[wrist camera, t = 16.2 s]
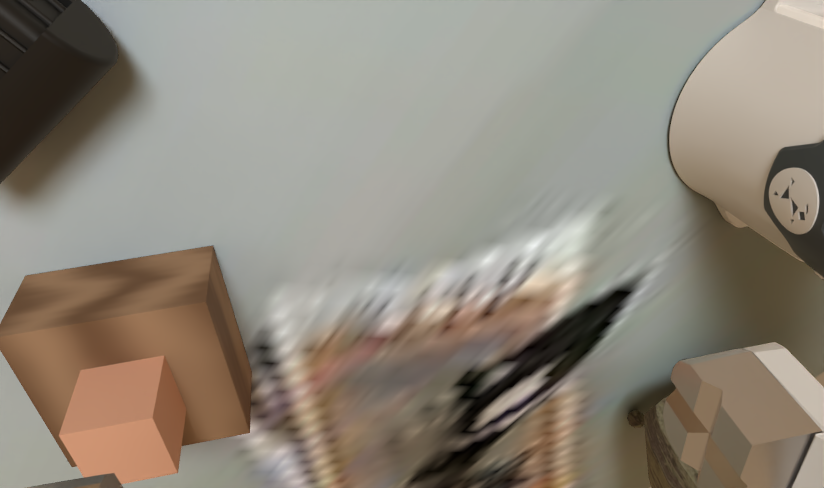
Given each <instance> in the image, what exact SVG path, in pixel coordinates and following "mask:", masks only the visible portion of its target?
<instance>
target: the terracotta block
mask: <svg viewBox="0 0 824 488" xmlns="http://www.w3.org/2000/svg"><path fill="white" fill-rule="evenodd" d="M185 417H186V407H185V404H184V402H183V400H182V397H181V395H180V392H179V390H178V387H177V385H176V383H175V380H174V378H173V375H172V373H171V370H170V368H169V365H168V363H167V361H166V358H165V356H158V357H152V358H147V359H141V360H135V361H130V362H124V363H118V364H113V365H107V366H102V367H96V368H90V369H85V370H81V371H80V374H79V377H78V380H77V383H76V386H75V389H74V392H73V394H72V397H71V400H70V403H69V406H68V409H67V412H66V415H65V418H64V421H63V424H62V427H61V430H60V433H59V437H60V438H61V440H62V442H63V443H64V445H65V447H66V448H67V450H68V452H69V453H70V455H71V457H72V458H73V460H74V462H75V463H76V465H77V467H78V468H79V470H80V472H81V473H82V475H83V477H84V478H85V477H91V476H97V475H103V474H110V473H115V475H116V477H117V478H118V480H119V481H120V483H121V484H124V483H129V482H134V481H140V480H145V479H150V478H155V477H160V476H165V475H170V474H175V473H178V468H179V460H180V453H181V446H182V438H183V431H184V424H185Z"/></svg>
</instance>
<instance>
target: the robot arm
mask: <svg viewBox="0 0 824 488" xmlns="http://www.w3.org/2000/svg"><path fill="white" fill-rule="evenodd" d="M669 146H670V154H671V159H672V162H673V165H674V167H675V170H676V172H677V173H678V175H679V177H680V178H681V179H682V180H683V182H684V183H685V184H686V185H687V186H689V187H690V188H691V189H692V190H694V191H696V192H697V193H699V194H701V195H703V196H705V197H707V198H708V199H710V200H712V201H713V202H714V203H715V204H716V206H717V208H718V210H719V212H720V214H721V215H722V217H723V218H724V219H725V220H726V221H727V222H729V223H730V224H732V225H733V226H735V227H737V228H744V227H750V228H751V229H753V230H754V231H756V232H757V233H759V234H760V235H762V236H763V237H765V238H766V239H767V240H769V241H770V242H772V243H773V244H775V245H776V246H778V247H779V248H781V249H782V250H784V251H785V252H787V253H788V254H790V255H791V256H793V257H795V258H796V259H798V260H800V261H802V262H805V263H806V264H808V265H809V266H810V267H811V268H812V269H813V270H815V272H814V273H815V274H817V275H818V276H819V277H820V278H822V279H823V280H824V0H766V1H765V2H764V3H763V5H762V6H761V8H759V9H758V10H757V11H756V12H755V13H754V14H753V15H752V16H750V17H749V18H748V19H747V20H745V21H744V22H743V23H741V24H740V25H739V26H737V27H736V28H735V29H733V30H732V31H731V32H729V33H728V34H727V35H726V36H725V37H723V38H722V39H721V40H720V41H719V42H718V43H717V44H716V45H715V46H714V47H713V48H712V49H711V50H710V51H709V52H708V53H707V55H706V56H705V57H704V58H703V59H702V60H701V62H700V63H699V64H698V66H697V67H696V68H695V70H694V71H693V73H692V74H691V76H690V77H689V79H688V81H687V82H686V84H685V86H684V88H683V90H682V92H681V94H680V96H679V99H678V101H677V104H676V107H675V109H674V113H673V116H672V121H671V126H670V136H669ZM670 379H671V381H672V382H673V384H674V385H675V386H676V389H675V390H674V391H673V392H672V393H671V394H670V395H669V396H668V397H667V398H666V400H665V406H664V411H663V418H664V424H665V430H666V433H667V436H668V438H669V441H670V443H671V446H672V447H673V449H674V451H675V452H676V454H677V455H678V457H679V459H680V460H681V461H683V462H684V463H686V464H688V465H689V466H691V467H693V468H694V469H696V470H698V478H697V487H698V488H824V387H823V386H822V385H821V384H820V383H819V382H818V381H817V380H816V379H815V378H814V377H813V376H812V375H811V374H810V373H809V372H808V371H807V370H806V369H805V367H804V366H803V365H802V364H801V363H800V362H799V361H798V360H797V359H796V358H795V357H794V356H793V355H792V354H791V353H790V352H789V351H788V350H787V349H786V348H785V347H784V346H782V345H780V344H778V343H776V342H772V343H767V344H762V345H756V346H751V347H746V348H742V349H733V350H728V351H723V352H719V353H714V354H709V355H704V356H699V357H695V358H690V359H685V360H680V361H678V363H677V364H676V365H675V366H674V367H673V370H672V374H671V378H670ZM27 488H123V486H122V485H121V483H120V481H119V480H118V478H117V477H116V475H115V473H110V474H103V475H97V476H91V477H85V478H79V479H73V480H67V481H61V482H56V483H50V484H44V485H38V486H32V487H27Z"/></svg>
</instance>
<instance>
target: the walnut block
mask: <svg viewBox="0 0 824 488" xmlns="http://www.w3.org/2000/svg"><path fill="white" fill-rule="evenodd" d="M0 350H1V352H2V354H3V355H4V357H5V358H6V360H7V362H8V363H9V365H10V367H11V368H12V370H13V372H14V373H15V375H16V376H17V378H18V380H19V381H20V383H21V385H22V386H23V388H24V390H25V391H26V393H27V394H28V396H29V398H30V399H31V401H32V403H33V404H34V406H35V408H36V409H37V411H38V412H39V414H40V416H41V417H42V419H43V421H44V422H45V424H46V426H47V427H48V429H49V430H50V432H51V434H52V435H53V437H54V439H55V440H56V442H57V444H58V445H59V447H60V448H61V450H62V452H63V453H64V455H65V457H66V458H67V460H68V462H69V463H70V465H71V466H72V467H75V466H77V465H76V463H75V462H74V460H73V458H72V457H71V455H70V453H69V452H68V450H67V448H66V447H65V445H64V443H63V442H62V440H61V438H60V437H59V433H60V430H61V427H62V424H63V421H64V418H65V415H66V412H67V409H68V406H69V403H70V400H71V397H72V394H73V392H74V389H75V386H76V383H77V380H78V377H79V374H80V371H81V370H85V369H90V368H96V367H102V366H107V365H113V364H118V363H124V362H130V361H135V360H141V359H147V358H152V357H158V356H165V358H166V361H167V363H168V365H169V368H170V370H171V373H172V375H173V378H174V380H175V383H176V385H177V387H178V390H179V392H180V395H181V397H182V400H183V402H184V404H185V407H186V417H185V424H184V431H183V438H182V446H184V445H189V444H194V443H200V442H205V441H210V440H215V439H220V438H225V437H231V436H236V435H241V434H246V433H250V409H251V377H252V371H251V368H250V364H249V361H248V358H247V355H246V351H245V348H244V345H243V342H242V338H241V335H240V332H239V329H238V325H237V322H236V319H235V316H234V312H233V309H232V306H231V303H230V299H229V296H228V293H227V290H226V286H225V283H224V280H223V277H222V273H221V270H220V267H219V264H218V260H217V257H216V254H215V250H214V247H213V246H207V247H201V248H195V249H189V250H183V251H176V252H170V253H164V254H158V255H151V256H145V257H139V258H133V259H127V260H120V261H114V262H108V263H102V264H95V265H89V266H83V267H77V268H70V269H64V270H58V271H52V272H46V273H39V274H33V275H27V276H25V277H24V279H23V281H22V283H21V285H20V287H19V289H18V291H17V293H16V295H15V297H14V299H13V301H12V302H11V304H10V306H9V308H8V310H7V312H6V314H5V316H4V318H3V320H2V322H1V324H0Z"/></svg>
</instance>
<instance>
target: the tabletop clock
mask: <svg viewBox="0 0 824 488" xmlns="http://www.w3.org/2000/svg"><path fill="white" fill-rule="evenodd" d="M684 360H685V359H684ZM667 397H668V396H667ZM667 397H665V398H664V399H662V400H661V401H660V402H659V403H657V404H656V405H655V406H654V407H653V408H651V409H650V410H649V411H648V412H647V413H646V414H645V415H644V414H643V413H641V412H640V411H638V410H636V411H631V412H630V413H629V415H628V417H627V419H628V422H629V424H630V425H631V426H633V427H634V428H639V427H641V426H643V425H645V437H646V449H647V462H648V474H649V480H650V483H651V487H652V488H698V487H697V478H698V470H696V469H694V468H693V467H691V466H689V465H688V464H686V463H684V462H683V461H681V460H680V459H679V457H678V455H677V454H676V452H675V451H674V449H673V447H672V446H671V443H670V441H669V438H668V436H667V433H666V430H665V424H664V418H663V411H664V406H665V400H666V398H667Z"/></svg>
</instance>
